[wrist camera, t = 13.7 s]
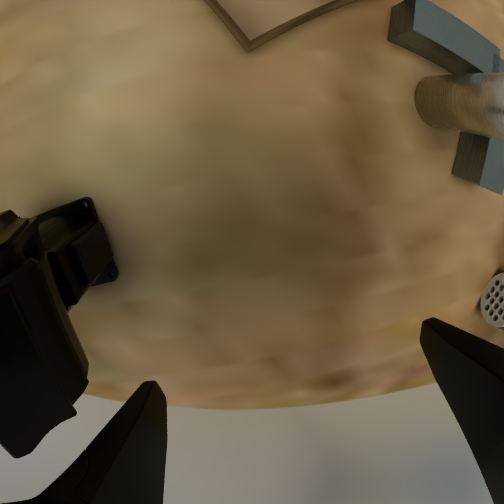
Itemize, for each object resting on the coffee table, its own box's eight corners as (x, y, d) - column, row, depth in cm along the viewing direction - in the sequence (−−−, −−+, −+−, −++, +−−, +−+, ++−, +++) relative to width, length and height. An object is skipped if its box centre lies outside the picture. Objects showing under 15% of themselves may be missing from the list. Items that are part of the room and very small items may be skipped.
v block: (458, 196, 21) (485, 208, 18) (371, 15, 15) (394, 1, 12) (514, 151, 19) (541, 158, 16) (445, -10, 14) (470, -20, 10)
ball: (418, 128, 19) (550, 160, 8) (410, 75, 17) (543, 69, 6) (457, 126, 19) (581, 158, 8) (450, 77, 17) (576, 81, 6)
